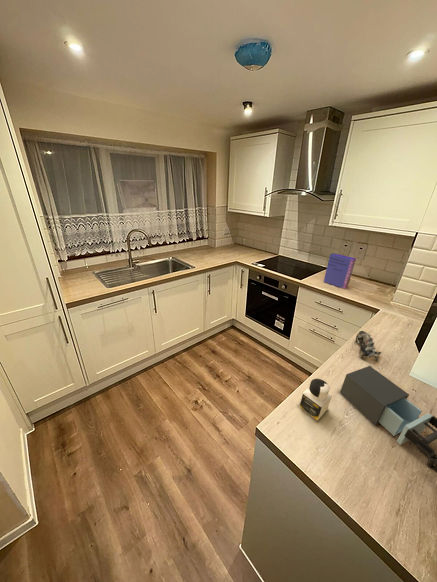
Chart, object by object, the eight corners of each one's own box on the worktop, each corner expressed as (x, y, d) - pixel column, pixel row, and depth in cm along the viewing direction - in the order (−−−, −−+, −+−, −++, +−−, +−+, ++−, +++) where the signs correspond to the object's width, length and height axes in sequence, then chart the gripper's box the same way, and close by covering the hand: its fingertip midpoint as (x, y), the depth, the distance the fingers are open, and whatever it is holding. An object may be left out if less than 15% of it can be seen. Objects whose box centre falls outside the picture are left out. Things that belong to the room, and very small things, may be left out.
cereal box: (347, 287, 184) (356, 258, 174) (345, 289, 181) (353, 259, 171) (325, 280, 196) (332, 252, 185) (323, 282, 193) (330, 253, 182)
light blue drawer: (438, 444, 73) (449, 428, 69) (415, 459, 69) (426, 442, 65) (382, 399, 88) (390, 384, 84) (361, 409, 84) (368, 393, 80)
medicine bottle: (298, 406, 85) (305, 382, 79) (309, 396, 89) (316, 372, 84) (317, 421, 80) (325, 396, 74) (327, 409, 84) (335, 385, 79)
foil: (348, 349, 110) (360, 323, 115) (347, 358, 118) (359, 334, 123) (376, 360, 103) (388, 333, 108) (374, 369, 110) (385, 343, 115)
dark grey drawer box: (398, 413, 83) (409, 394, 79) (374, 425, 79) (384, 406, 75) (362, 383, 95) (369, 365, 91) (339, 392, 91) (346, 374, 87)
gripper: (487, 543, 51) (389, 447, 69) (535, 494, 60) (436, 420, 78) (507, 527, 48) (398, 431, 66) (554, 478, 56) (446, 405, 75)
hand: (419, 425), depth 72 cm, fingers closed on light blue drawer, 11 cm apart
